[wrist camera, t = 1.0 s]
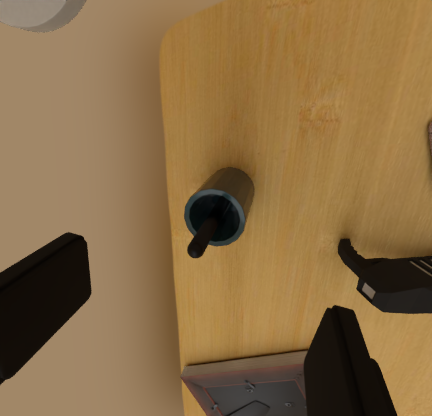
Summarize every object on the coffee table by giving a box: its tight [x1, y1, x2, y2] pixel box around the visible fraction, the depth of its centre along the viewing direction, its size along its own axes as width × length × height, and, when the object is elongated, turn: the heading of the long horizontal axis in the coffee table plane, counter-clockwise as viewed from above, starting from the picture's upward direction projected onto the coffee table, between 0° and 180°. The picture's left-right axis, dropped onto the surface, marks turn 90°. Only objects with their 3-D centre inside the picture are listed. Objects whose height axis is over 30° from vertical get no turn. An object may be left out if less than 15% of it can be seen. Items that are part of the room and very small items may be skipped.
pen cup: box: [184, 167, 254, 246], centre depth 26 cm, size 6×6×8 cm
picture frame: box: [181, 350, 308, 416], centre depth 41 cm, size 16×2×22 cm
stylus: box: [187, 196, 231, 258], centre depth 23 cm, size 1×1×13 cm
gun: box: [338, 239, 432, 314], centre depth 25 cm, size 3×16×10 cm, turn 84°
